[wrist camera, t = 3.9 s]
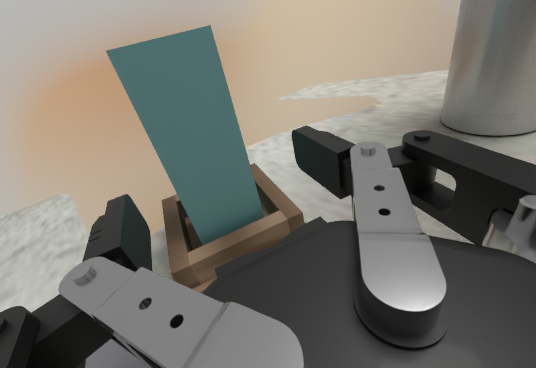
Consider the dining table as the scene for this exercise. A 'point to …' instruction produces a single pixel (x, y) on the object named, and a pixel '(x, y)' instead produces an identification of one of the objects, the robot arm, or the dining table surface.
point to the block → (192, 127)
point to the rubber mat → (112, 358)
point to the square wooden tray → (231, 245)
